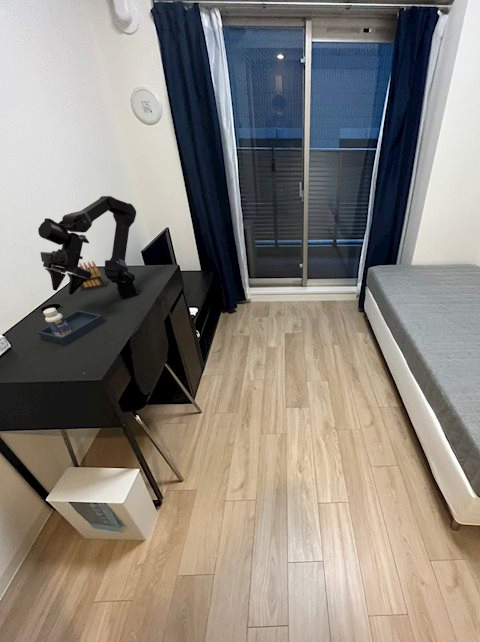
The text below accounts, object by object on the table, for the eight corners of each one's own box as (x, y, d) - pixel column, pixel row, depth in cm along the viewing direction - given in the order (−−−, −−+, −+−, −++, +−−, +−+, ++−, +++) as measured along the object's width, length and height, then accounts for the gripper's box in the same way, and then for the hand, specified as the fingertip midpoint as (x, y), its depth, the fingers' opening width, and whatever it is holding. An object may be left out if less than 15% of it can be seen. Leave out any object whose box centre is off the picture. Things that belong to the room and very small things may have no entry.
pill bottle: (64, 338, 120) (49, 314, 114) (52, 337, 121) (37, 313, 115) (75, 330, 124) (61, 307, 118) (63, 329, 125) (48, 306, 119)
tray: (81, 316, 134) (78, 310, 132) (104, 321, 130) (101, 315, 128) (41, 338, 122) (37, 332, 121) (65, 345, 118) (61, 338, 116)
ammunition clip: (81, 290, 154) (68, 265, 146) (82, 289, 155) (69, 263, 147) (106, 286, 156) (94, 261, 148) (106, 284, 157) (94, 259, 149)
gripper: (31, 237, 115) (22, 281, 116) (64, 243, 108) (54, 289, 109) (64, 250, 126) (55, 290, 127) (96, 256, 119) (87, 299, 120)
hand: (62, 292), depth 120 cm, fingers open, 9 cm apart
